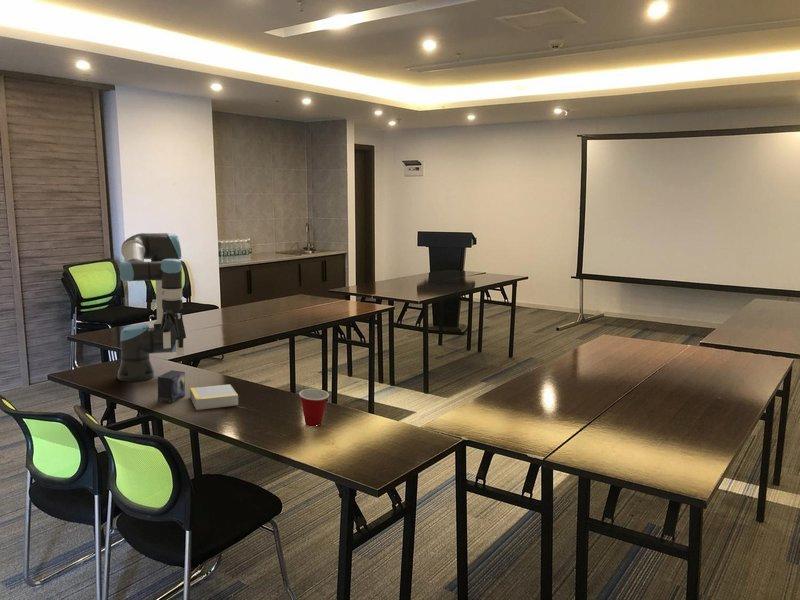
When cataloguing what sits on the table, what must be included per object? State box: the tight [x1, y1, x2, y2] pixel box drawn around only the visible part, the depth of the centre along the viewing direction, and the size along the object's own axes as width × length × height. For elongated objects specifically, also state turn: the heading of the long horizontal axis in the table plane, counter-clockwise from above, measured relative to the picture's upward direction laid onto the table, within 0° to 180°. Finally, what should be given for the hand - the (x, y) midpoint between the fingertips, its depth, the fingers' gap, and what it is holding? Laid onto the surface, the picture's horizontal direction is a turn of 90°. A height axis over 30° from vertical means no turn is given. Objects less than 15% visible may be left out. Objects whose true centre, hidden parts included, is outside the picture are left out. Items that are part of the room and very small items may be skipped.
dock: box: [189, 384, 239, 411], centre depth 253 cm, size 16×16×4 cm
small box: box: [157, 370, 186, 404], centre depth 253 cm, size 11×6×10 cm, turn 168°
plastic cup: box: [298, 388, 330, 427], centre depth 230 cm, size 11×11×12 cm
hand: (173, 351), depth 249 cm, fingers open, 13 cm apart
